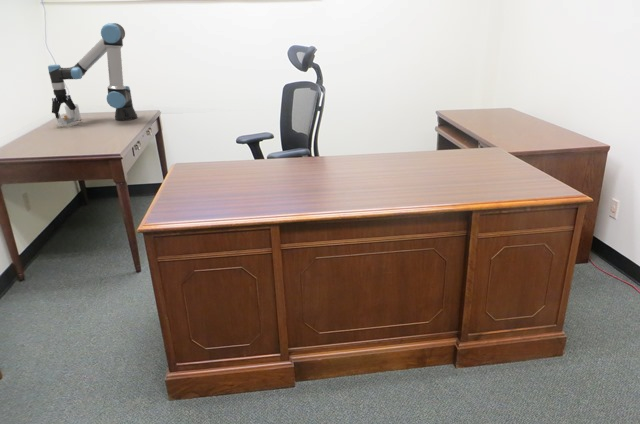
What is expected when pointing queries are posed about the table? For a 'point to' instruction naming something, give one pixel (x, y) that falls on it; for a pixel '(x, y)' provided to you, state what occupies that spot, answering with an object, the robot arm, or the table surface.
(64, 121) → the link
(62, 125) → the keeper
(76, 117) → the mug
